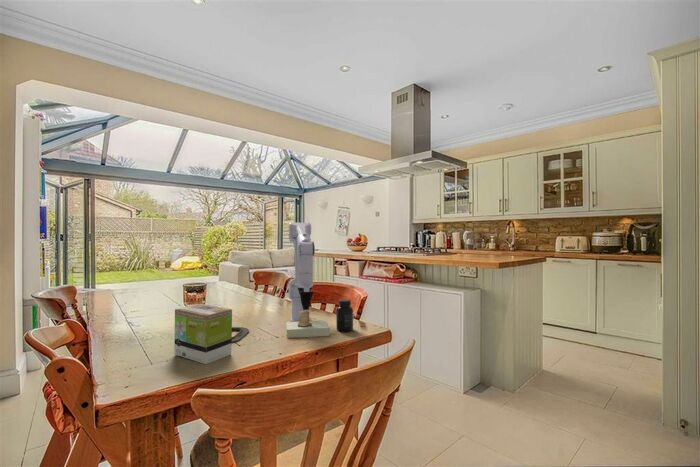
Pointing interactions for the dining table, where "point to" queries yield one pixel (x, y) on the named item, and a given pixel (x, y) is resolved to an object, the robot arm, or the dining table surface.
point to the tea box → (203, 333)
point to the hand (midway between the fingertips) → (305, 307)
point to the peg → (303, 319)
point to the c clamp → (239, 333)
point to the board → (308, 329)
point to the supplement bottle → (344, 316)
